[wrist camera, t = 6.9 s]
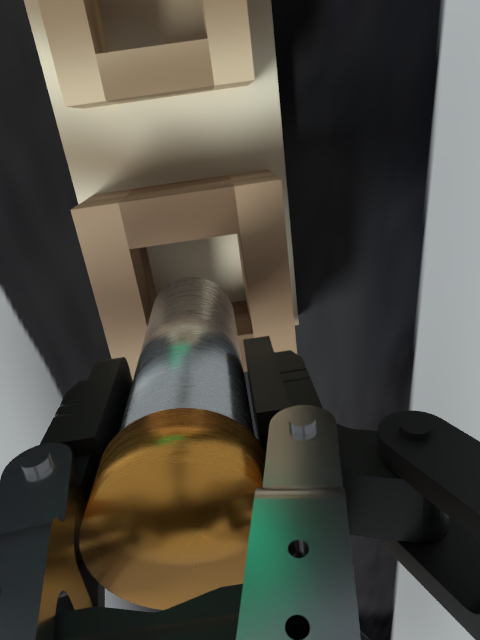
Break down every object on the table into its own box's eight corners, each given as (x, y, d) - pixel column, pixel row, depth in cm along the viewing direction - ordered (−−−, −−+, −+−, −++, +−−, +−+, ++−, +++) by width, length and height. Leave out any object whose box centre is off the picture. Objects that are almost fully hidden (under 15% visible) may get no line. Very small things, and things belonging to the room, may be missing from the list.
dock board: (9, -86, 18) (-61, -159, 13) (256, -120, 18) (275, -203, 13) (121, 343, 25) (102, 392, 20) (295, 317, 25) (315, 360, 21)
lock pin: (137, 278, 16) (52, 481, 7) (232, 265, 16) (270, 448, 7) (156, 362, 18) (107, 623, 8) (244, 349, 18) (289, 594, 8)
